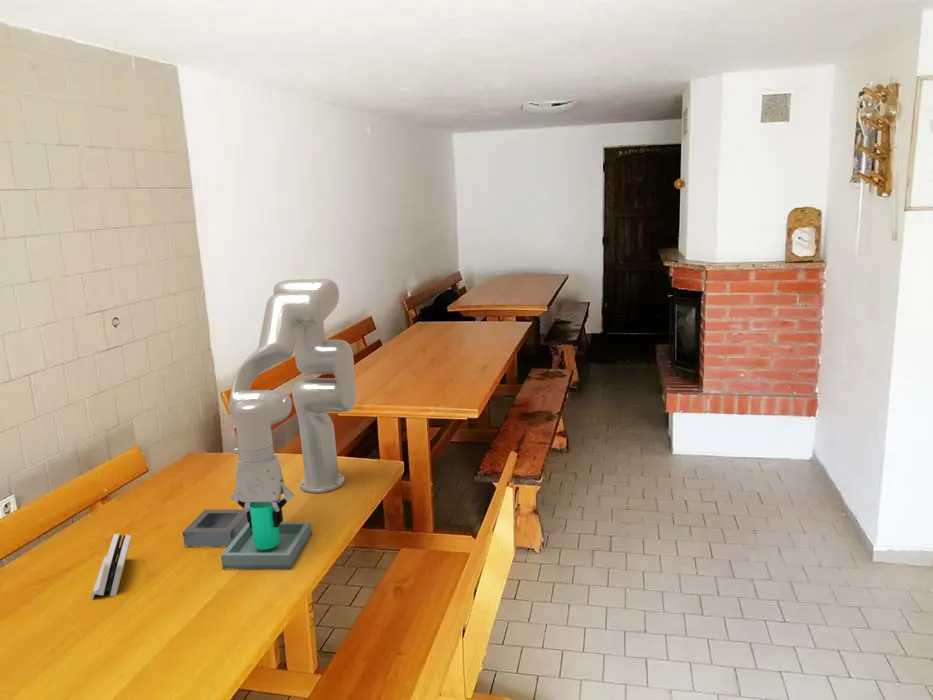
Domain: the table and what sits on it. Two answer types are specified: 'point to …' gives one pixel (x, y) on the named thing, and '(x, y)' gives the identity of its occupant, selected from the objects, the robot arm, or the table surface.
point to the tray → (278, 557)
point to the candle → (263, 525)
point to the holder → (206, 536)
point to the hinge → (112, 567)
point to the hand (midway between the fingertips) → (265, 524)
